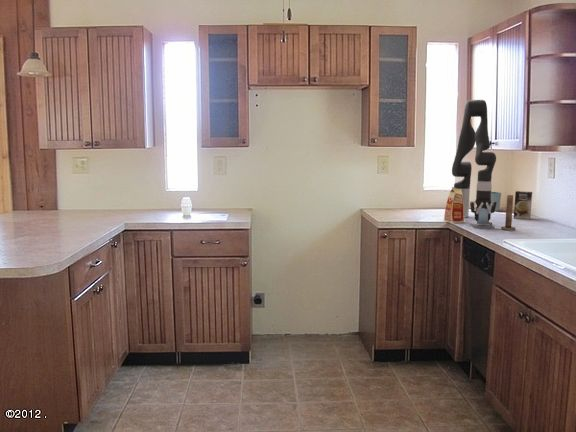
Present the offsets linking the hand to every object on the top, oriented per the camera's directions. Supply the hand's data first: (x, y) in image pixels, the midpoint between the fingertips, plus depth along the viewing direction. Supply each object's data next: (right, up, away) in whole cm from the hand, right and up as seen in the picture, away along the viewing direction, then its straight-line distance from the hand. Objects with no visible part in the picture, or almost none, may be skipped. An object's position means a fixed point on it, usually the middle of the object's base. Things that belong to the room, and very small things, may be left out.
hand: (482, 220), depth 304 cm
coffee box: (+34, +1, +31) cm, 46 cm away
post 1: (+5, -2, +8) cm, 10 cm away
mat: (0, -3, 0) cm, 3 cm away
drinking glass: (+29, +6, +64) cm, 71 cm away
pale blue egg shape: (0, -2, 0) cm, 2 cm away
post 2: (+11, -5, -7) cm, 14 cm away
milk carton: (-9, -1, +19) cm, 21 cm away
